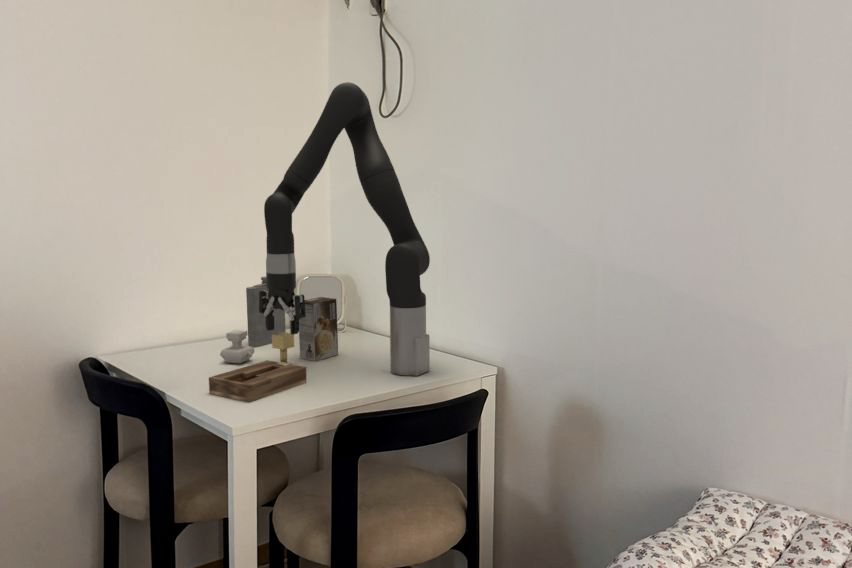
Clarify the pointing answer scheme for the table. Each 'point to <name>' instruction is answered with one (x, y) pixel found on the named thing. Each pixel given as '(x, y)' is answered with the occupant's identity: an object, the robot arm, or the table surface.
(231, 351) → the stamp
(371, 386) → the table surface
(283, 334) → the brass keyhole peg
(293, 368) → the keyhole plate
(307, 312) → the coffee box
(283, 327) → the hip flask
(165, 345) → the table surface
